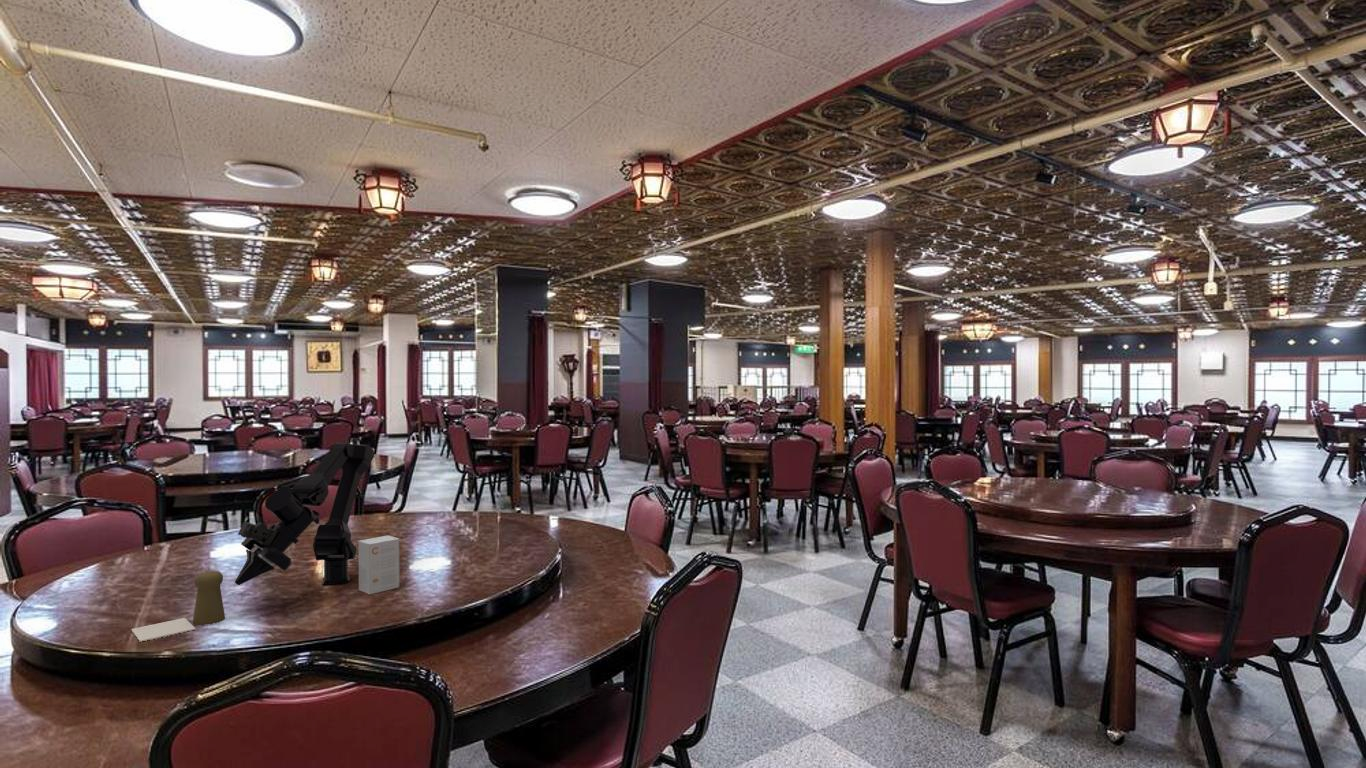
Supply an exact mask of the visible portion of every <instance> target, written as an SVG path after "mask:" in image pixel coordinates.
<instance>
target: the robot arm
mask: <svg viewBox="0 0 1366 768" xmlns="http://www.w3.org/2000/svg"><path fill="white" fill-rule="evenodd" d="M374 457H375V450H374V448H373V447H372V446H371V445H370V444H353V443H349V442H334V443H332V444H331V445H330V447H329V451H328V452H327V453H326V455H325V456H324V457H323V458H322V459H321V461H320V462H319V463H318V465H317V466H316V467H315V468H314V470H313V471H312V473H310V474H309V475H307V476H304V477H302V478H301V479H299V480H298V481H297V482H296V483H295V484H293V486H292V487H290V486H289V485H281V486H279V489H278V490H275V491H273V492H272V493H271V494H269V496H267V497H266V499H265V501H264V506H265V508H266V510H268V511H269V512H270V513H271V514H272V515H273V516H275V517H276V518H277V519H278V520H279V521H278V522H277V524H275V523H272V524H270V525H269V526H268V524H266V523H262V522H259V521H258V522H257V523H256V524H255V523H251V522H248V521H243V523H242V524H241V527H240V528H239V531H238V533H237V535H238V536H240V537H242V538H245V539H244V540H243V541H242V542H241V543H240V545H241V546H243V547H244V548H246V549H245V552H246V561H245V563H244V565H242V569H241V570H240V572H239V574H238V575H237V577H236V579H235V580H234V583H235V584H236V585H237V586H241V585H242V584H244V583H246V582H249V581H251V580H252V579H254V578H257V577H259V576H260V575H263V574H265V573H267V572H269V571H272V570H275V569H276V568H275V566H274V565H276V566H277V567H278V568H279V569H280V570H282V571H283V572H286V571H287V569H289V567H290V566H291V565H292V559H291V558H290V557H289V556H288V555H286V554H285V551H287V549H289V547H290V546H292V544H296V545H297V543H298V542H300V541H299V539H298V538H299V537H300V536H301V534H302V533H303V532H305V530H306V529H308V527H309V526H310V525H311V524H312V523H314V524H316V525H318V524H319V525H318V526H317V528H316V534H315V536H314V538H313V543H312V549H313V552H314V557H315V560H316V561H323V577H322V579H321V580H322V582H321V583H322V584H321V585H322V586H328V585H337V584H344V583H349V582H350V574H349V573H348V571H349V569H348V568H349V564H348V562H349V561H350V560H353V559H355V557H356V555H357V547H356V545H355V544H354V543H353V541H352V540H351V537H352V533H351V530H350V527H349V521H350V516H351V514H352V510H353V507H354V503H355V498H356V494H357V491H358V488H359V483H360V480H361V477H362V475H363V474H364V473H366V472H367V471H368V470H369V469H370V467H371V465H372V461H373V460H374ZM340 469H341V471H342V473H341V476H340V479H339V483H338V486H337V490H336V492H335V496H334V499H333V504H332V506H331V510H330V514H329V517H328V521H326V522H325V523H324V524H320V512H318V511H316V510H314V509H313V510H311V509H310V508H309V507H321V506H322V505H323V504H324V502H325V501H326V499H327V497H328V495H329V493H330V490H329V485H330V483H331V482H332V481H333V479H334V478H335V476H336V475H337V474H338V472H339V471H340Z"/></svg>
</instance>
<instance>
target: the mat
mask: <svg viewBox="0 0 1366 768" xmlns="http://www.w3.org/2000/svg"><path fill="white" fill-rule="evenodd" d="M130 630H132V631H131V632H133V633H134V634H133V633H132V634H133V636H134V637H135V636H136V637H137V638H136V637H135V638H136V640H137V639H138V640H139V641H138V640H137V641H138V642H139V643H140V642H141V643H143V642H142V641H146V642H148V641H147V640H150V641H154V640H153V639H155V640H159V639H162V638H161V637H163V638H168V637H171V636H170V635H172V636H176V635H175V634H177V635H179V634H178V633H181V634H184V633H183V632H186V633H188V632H187V631H190V632H193V631H192V630H195V631H197V629H196V626H195V625H193V624H192V623H191V622H190V621H189V620H188V619H187V618H186V617H183V618H178V619H177V618H176V619H173V620H167V621H163V622H159V623H154V624H153V623H152V624H150V625H145V626H139V627H134V628H131V629H130ZM167 636H168V637H167ZM158 638H159V639H158Z"/></svg>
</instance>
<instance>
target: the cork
mask: <svg viewBox="0 0 1366 768" xmlns="http://www.w3.org/2000/svg"><path fill="white" fill-rule="evenodd" d="M223 580H224V574H222V572H221V571H218V570H208V571H204V572H201V573H199V574H197V575H196V577H195V579H194V585H195V587H196V588H197V593H196V598H195V604H194V612H193V618H192V623H193V624H195V625H194V626H197V625H201V626H205V625H204V624H210V625H214V624H213V623H215V624H218V623H221V622H223V621H225V619H226V615H225V608H224V602H223V596H222V589H221V585H222V583H223ZM222 620H223V621H222ZM220 621H221V622H220ZM217 622H218V623H217ZM193 624H192V625H193Z"/></svg>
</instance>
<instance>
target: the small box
mask: <svg viewBox="0 0 1366 768" xmlns="http://www.w3.org/2000/svg"><path fill="white" fill-rule="evenodd" d="M357 543H358V544H357V546H358V591H360V592H363V593H364V594H368V595H373V594H377V593H382V592H385V591H389V590H394V589H399V588H400V539H399V538H398V537H395V536H393V535H383V536H377V537H371V538H367V539H366V538H365V539H361V540H358V542H357Z"/></svg>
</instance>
